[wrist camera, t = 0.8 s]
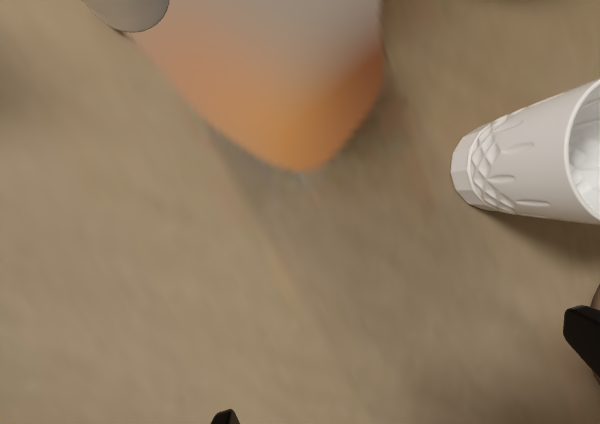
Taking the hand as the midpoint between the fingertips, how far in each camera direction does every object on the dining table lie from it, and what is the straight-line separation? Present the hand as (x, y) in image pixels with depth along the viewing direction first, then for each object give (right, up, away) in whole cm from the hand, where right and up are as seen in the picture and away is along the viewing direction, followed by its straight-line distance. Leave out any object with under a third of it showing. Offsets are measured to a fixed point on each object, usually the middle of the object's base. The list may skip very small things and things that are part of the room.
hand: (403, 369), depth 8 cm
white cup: (+13, +8, +18) cm, 23 cm away
